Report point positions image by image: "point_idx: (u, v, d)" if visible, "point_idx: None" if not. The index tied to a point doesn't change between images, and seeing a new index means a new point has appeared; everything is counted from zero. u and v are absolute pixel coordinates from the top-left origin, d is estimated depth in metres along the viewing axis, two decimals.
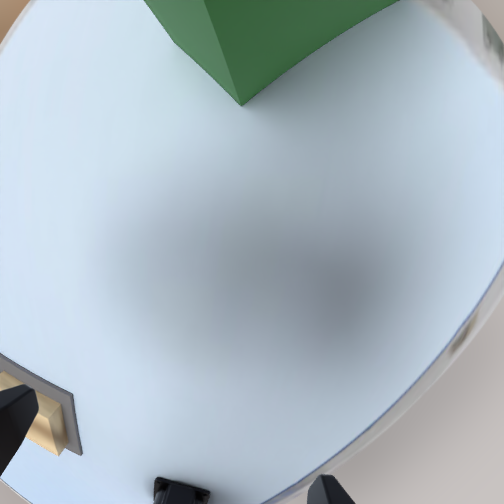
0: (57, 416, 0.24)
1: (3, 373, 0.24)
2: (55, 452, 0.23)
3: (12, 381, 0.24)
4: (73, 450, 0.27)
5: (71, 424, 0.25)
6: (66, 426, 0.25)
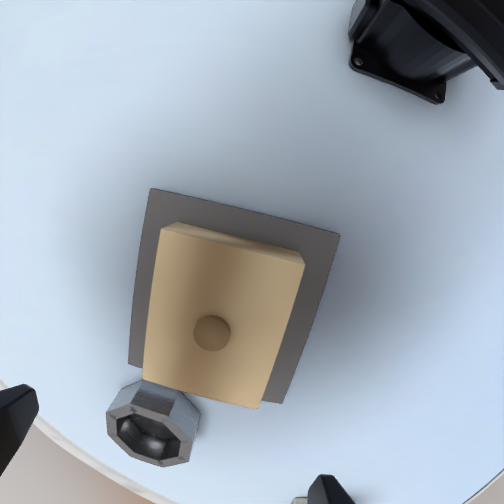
0: (192, 229, 0.16)
1: None
2: (292, 269, 0.14)
3: None
4: (327, 250, 0.17)
5: (229, 215, 0.17)
6: (242, 233, 0.17)
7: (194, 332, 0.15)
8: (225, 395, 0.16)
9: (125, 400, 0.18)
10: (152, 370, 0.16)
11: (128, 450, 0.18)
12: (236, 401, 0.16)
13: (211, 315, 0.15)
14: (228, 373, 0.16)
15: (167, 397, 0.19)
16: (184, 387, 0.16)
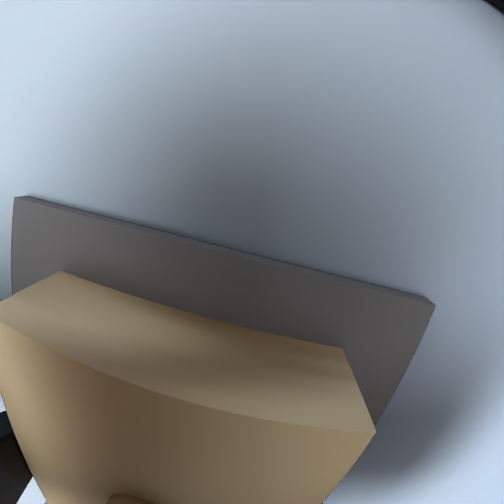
0: (73, 299, 0.06)
1: None
2: (336, 444, 0.04)
3: None
4: (404, 340, 0.07)
5: (168, 259, 0.06)
6: (203, 306, 0.07)
7: None
8: None
9: None
10: None
11: None
12: None
13: (134, 496, 0.05)
14: None
15: None
16: None
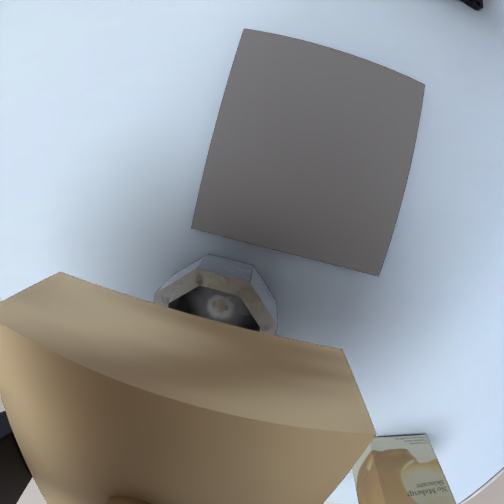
0: (73, 300, 0.06)
1: None
2: (336, 446, 0.04)
3: None
4: (416, 95, 0.14)
5: (326, 53, 0.14)
6: (339, 70, 0.14)
7: None
8: None
9: (185, 272, 0.15)
10: None
11: None
12: None
13: (134, 497, 0.05)
14: None
15: (242, 269, 0.16)
16: None
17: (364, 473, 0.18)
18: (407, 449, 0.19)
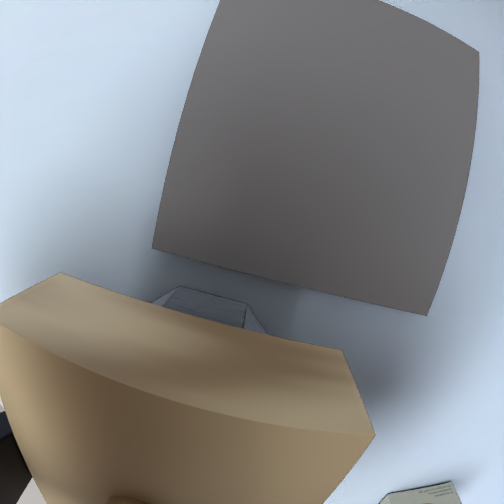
0: (72, 301, 0.06)
1: None
2: (335, 447, 0.04)
3: None
4: (471, 64, 0.08)
5: None
6: (371, 19, 0.08)
7: None
8: None
9: None
10: None
11: None
12: None
13: (133, 498, 0.05)
14: None
15: (229, 313, 0.10)
16: None
17: None
18: (432, 503, 0.12)
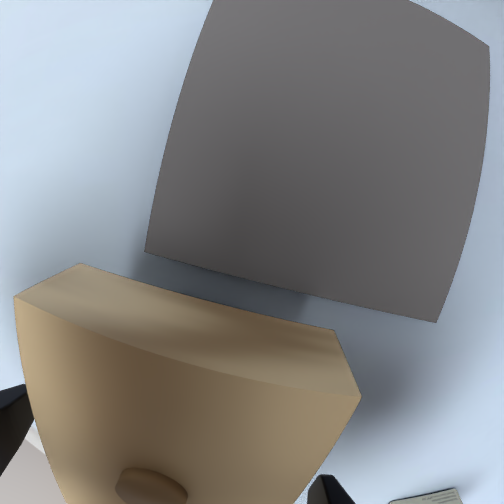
0: (94, 286, 0.06)
1: None
2: (327, 407, 0.05)
3: None
4: (481, 58, 0.08)
5: None
6: (378, 9, 0.08)
7: (117, 491, 0.05)
8: None
9: None
10: (75, 500, 0.07)
11: None
12: None
13: (146, 468, 0.06)
14: None
15: None
16: None
17: None
18: None
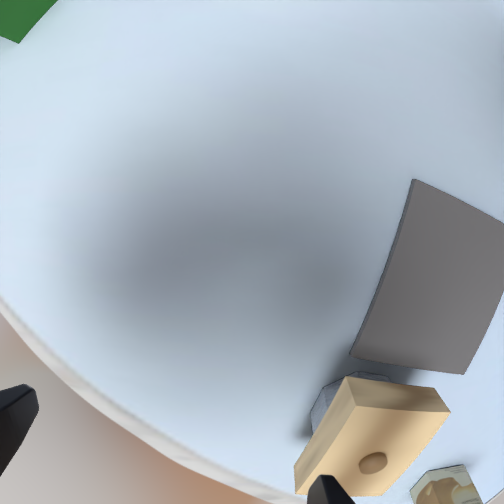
0: (366, 389, 0.15)
1: (295, 467, 0.18)
2: (441, 416, 0.14)
3: (305, 456, 0.17)
4: None
5: (469, 212, 0.16)
6: (475, 228, 0.16)
7: (361, 466, 0.14)
8: (362, 492, 0.16)
9: None
10: (308, 488, 0.15)
11: None
12: (368, 494, 0.16)
13: (376, 452, 0.14)
14: (371, 480, 0.15)
15: None
16: None
17: (424, 497, 0.20)
18: (453, 477, 0.21)
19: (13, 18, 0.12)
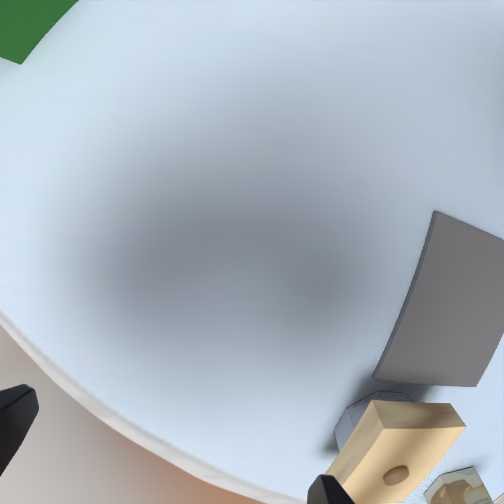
0: (391, 410, 0.16)
1: None
2: (458, 430, 0.14)
3: (332, 471, 0.17)
4: None
5: (485, 239, 0.16)
6: (490, 254, 0.17)
7: (386, 479, 0.14)
8: (384, 500, 0.16)
9: None
10: None
11: None
12: (390, 501, 0.16)
13: (399, 465, 0.15)
14: (393, 490, 0.15)
15: None
16: (357, 503, 0.16)
17: (438, 499, 0.20)
18: (464, 479, 0.21)
19: (14, 38, 0.13)
